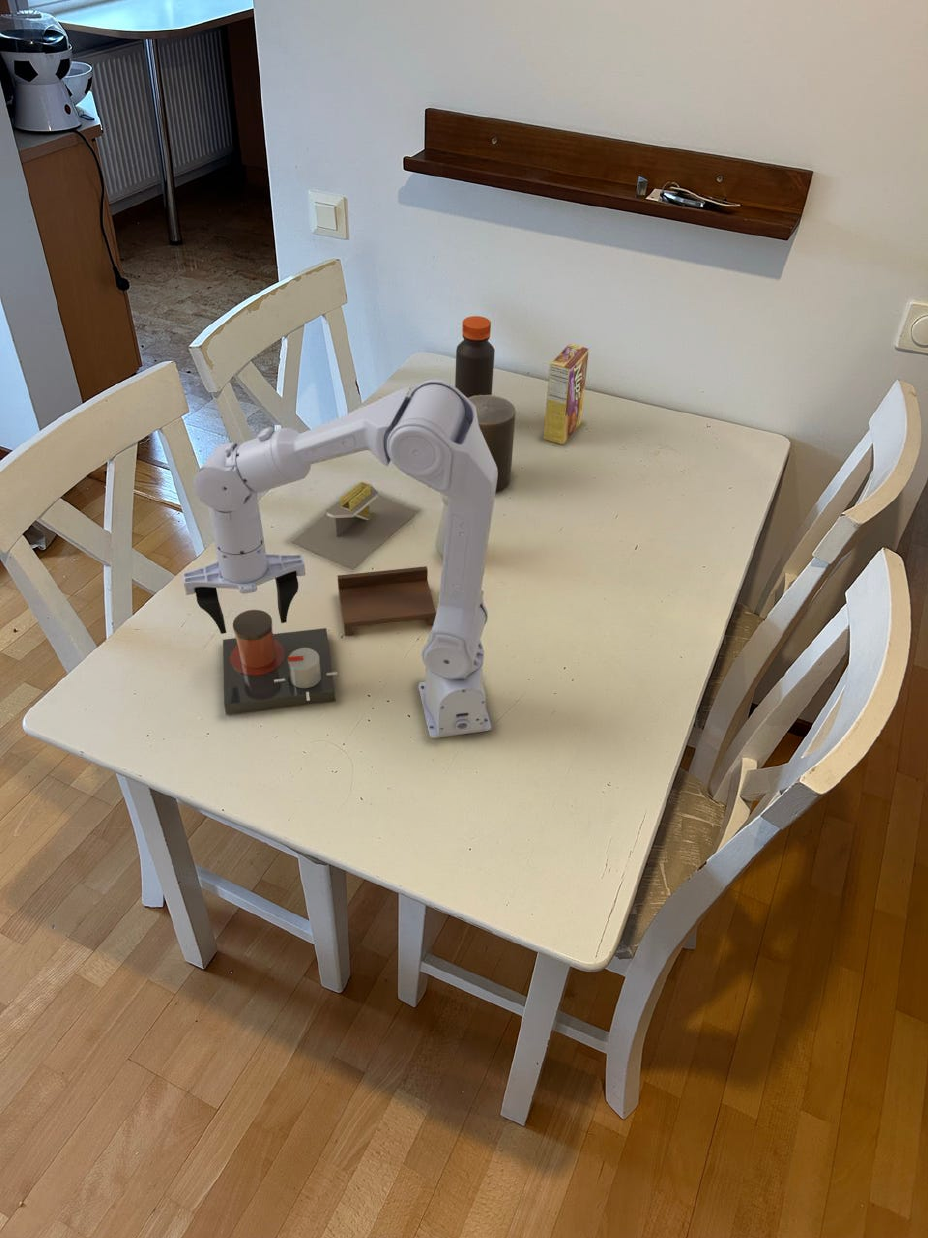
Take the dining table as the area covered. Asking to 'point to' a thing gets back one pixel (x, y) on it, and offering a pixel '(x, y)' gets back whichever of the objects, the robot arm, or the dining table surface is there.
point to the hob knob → (304, 668)
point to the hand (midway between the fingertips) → (253, 623)
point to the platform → (355, 526)
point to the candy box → (565, 393)
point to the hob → (278, 677)
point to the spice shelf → (385, 597)
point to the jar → (254, 638)
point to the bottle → (475, 358)
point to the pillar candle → (497, 432)
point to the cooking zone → (263, 670)
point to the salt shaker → (442, 527)
